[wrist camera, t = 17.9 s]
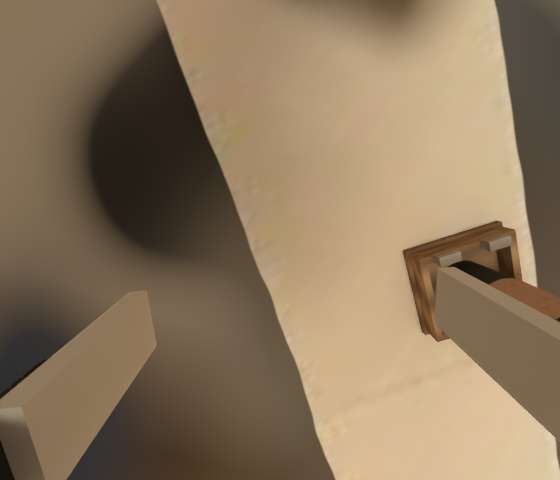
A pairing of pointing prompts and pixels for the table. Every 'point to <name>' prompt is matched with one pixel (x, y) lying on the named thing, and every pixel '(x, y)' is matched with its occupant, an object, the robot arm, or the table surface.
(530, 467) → the table surface
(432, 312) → the tray
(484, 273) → the travel mug
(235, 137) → the table surface
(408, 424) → the table surface
